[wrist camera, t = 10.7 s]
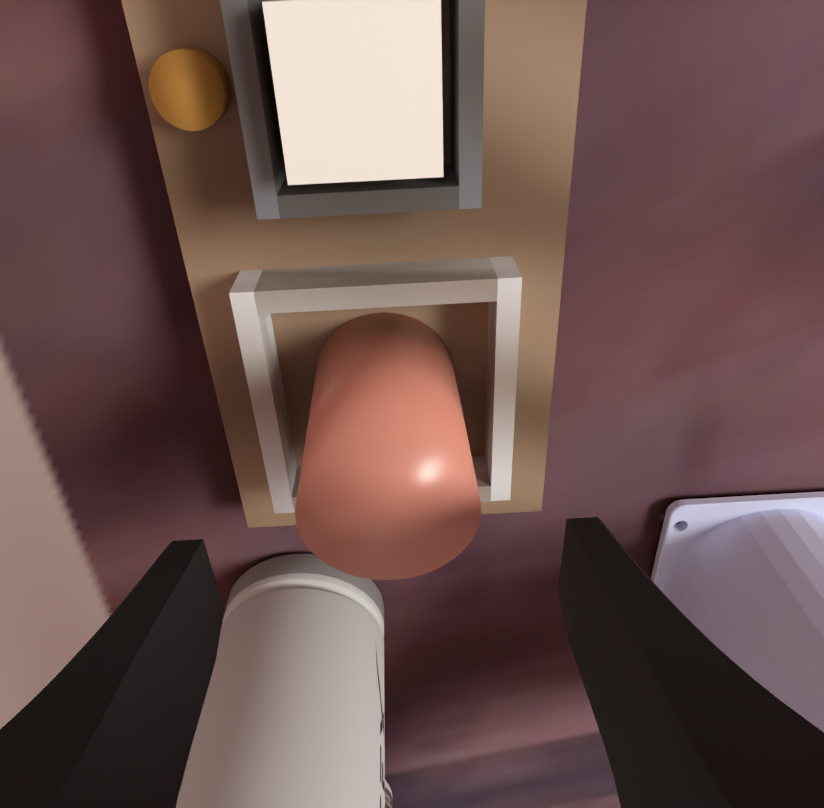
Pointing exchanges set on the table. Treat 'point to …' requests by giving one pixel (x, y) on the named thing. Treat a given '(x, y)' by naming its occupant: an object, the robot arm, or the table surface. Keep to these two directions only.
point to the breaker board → (371, 231)
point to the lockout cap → (386, 453)
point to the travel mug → (293, 694)
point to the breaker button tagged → (357, 88)
